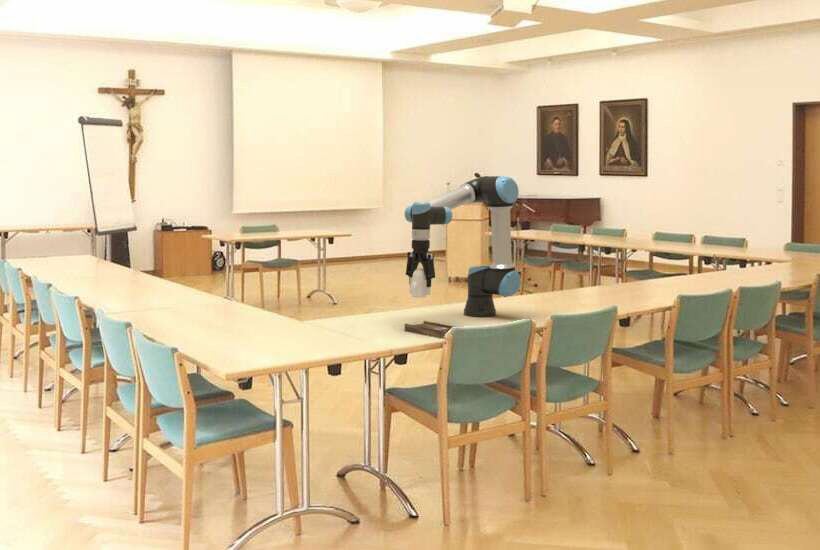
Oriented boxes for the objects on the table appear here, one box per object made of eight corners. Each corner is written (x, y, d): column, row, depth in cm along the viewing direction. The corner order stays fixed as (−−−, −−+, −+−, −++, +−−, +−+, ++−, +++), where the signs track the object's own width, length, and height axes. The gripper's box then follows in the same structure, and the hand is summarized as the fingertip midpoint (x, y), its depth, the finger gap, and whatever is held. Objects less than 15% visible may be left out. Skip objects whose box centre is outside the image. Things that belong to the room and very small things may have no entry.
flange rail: (424, 327, 382) (424, 319, 381) (461, 335, 366) (461, 326, 365) (404, 330, 374) (404, 322, 374) (441, 338, 358) (441, 329, 357)
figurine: (413, 298, 370) (414, 269, 368) (408, 295, 377) (409, 267, 376) (430, 297, 371) (430, 268, 370) (424, 295, 379) (425, 267, 377)
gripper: (397, 238, 376) (396, 291, 379) (431, 241, 361) (430, 297, 364) (410, 237, 381) (409, 290, 384) (444, 240, 366) (443, 295, 369)
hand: (419, 293), depth 374 cm, fingers closed on figurine, 8 cm apart
